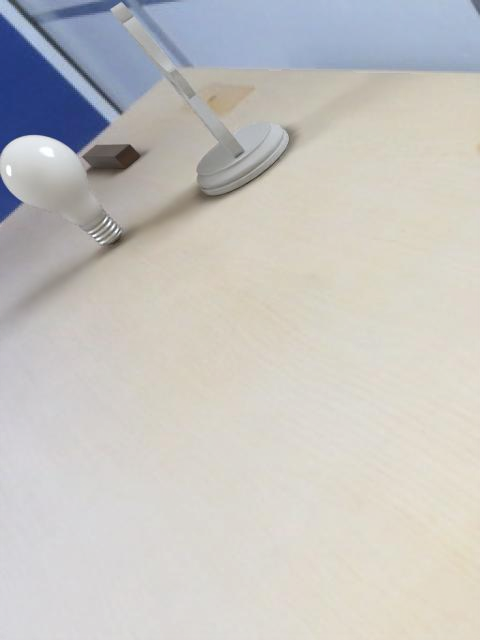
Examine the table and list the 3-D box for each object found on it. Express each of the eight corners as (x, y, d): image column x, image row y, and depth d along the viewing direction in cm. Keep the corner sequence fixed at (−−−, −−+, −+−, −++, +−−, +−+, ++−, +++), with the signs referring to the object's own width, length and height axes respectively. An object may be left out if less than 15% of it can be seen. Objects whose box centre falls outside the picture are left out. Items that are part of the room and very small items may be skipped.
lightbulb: (102, 235, 75) (-1, 139, 67) (152, 212, 74) (53, 110, 66) (79, 272, 71) (-33, 174, 63) (132, 248, 70) (24, 144, 62)
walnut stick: (141, 155, 88) (129, 143, 87) (125, 168, 87) (114, 156, 86) (106, 155, 94) (96, 144, 93) (92, 167, 93) (81, 156, 92)
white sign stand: (215, 206, 68) (72, 47, 58) (194, 181, 75) (63, 33, 64) (301, 144, 70) (178, -23, 59) (274, 124, 76) (158, -30, 66)
